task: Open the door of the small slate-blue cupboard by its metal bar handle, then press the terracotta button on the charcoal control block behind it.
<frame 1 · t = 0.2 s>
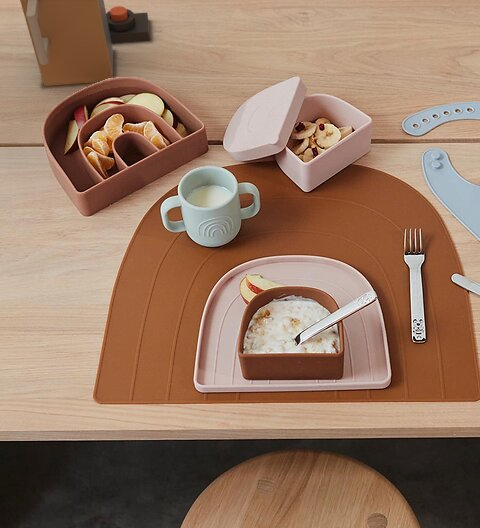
cupboard: (79, 67, 151), on the table
button: (118, 14, 156), point 4 cm above the table, slide at 0.1 cm
cupboard door: (65, 39, 136), point 12 cm above the table, hinge at 0.0°
control block: (122, 33, 159), on the table
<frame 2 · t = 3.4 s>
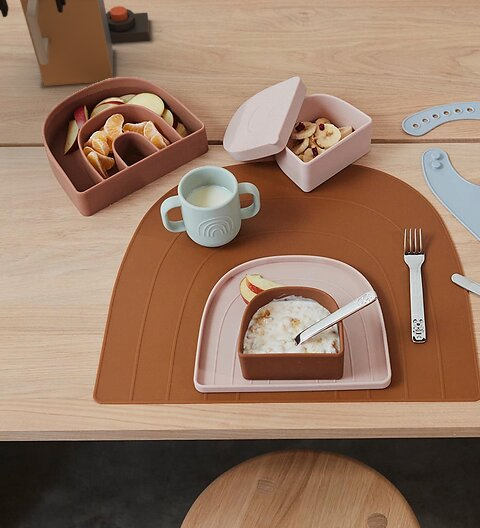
hand: (33, 10, 127), 20 cm above the table, tool pointing down, fingers open, 9 cm apart
nothing on the table moved.
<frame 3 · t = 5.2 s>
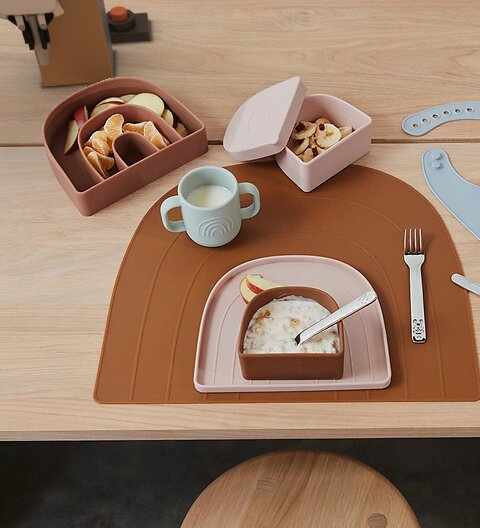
hand: (38, 45, 132), 14 cm above the table, tool pointing down, fingers closed on cupboard door
cupboard door: (66, 39, 136), point 12 cm above the table, hinge at 0.9°, touching gripper
everything else where it was.
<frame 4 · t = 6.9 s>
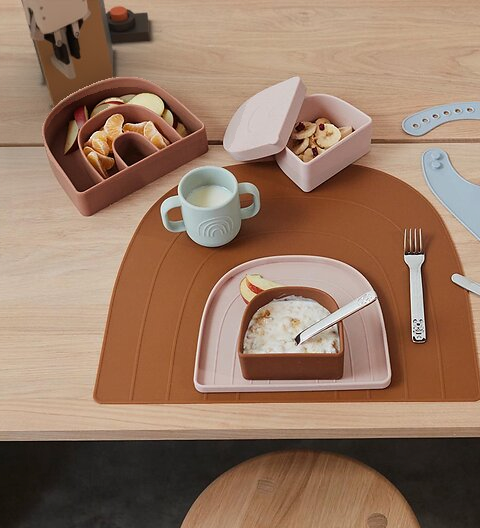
hand: (68, 58, 130), 14 cm above the table, tool pointing down, fingers closed on cupboard door
cupboard door: (81, 48, 134), point 12 cm above the table, hinge at 32.8°, touching gripper
everything else where it was.
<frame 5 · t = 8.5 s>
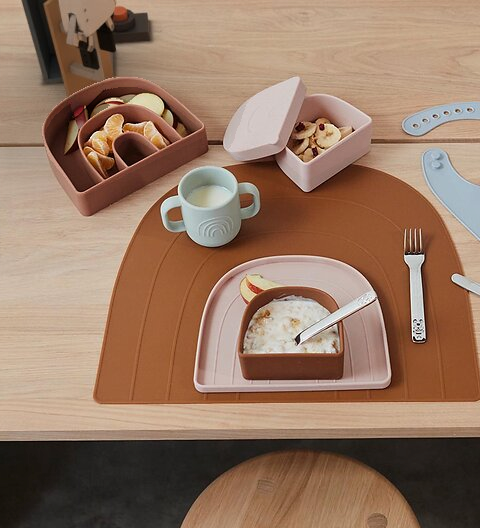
hand: (99, 58, 129), 14 cm above the table, tool pointing down, fingers open, 5 cm apart
cupboard door: (97, 50, 134), point 12 cm above the table, hinge at 57.0°
everything else where it was.
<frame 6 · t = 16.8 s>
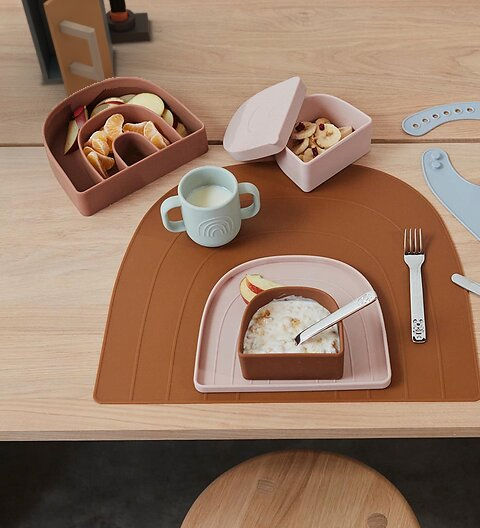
hand: (118, 10, 155), 5 cm above the table, tool pointing down, fingers closed
button: (118, 14, 156), point 4 cm above the table, slide at 0.1 cm, touching gripper
everything else where it was.
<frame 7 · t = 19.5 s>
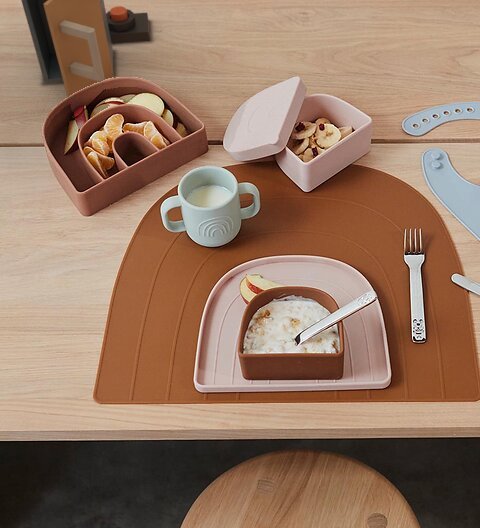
button: (118, 14, 156), point 4 cm above the table, slide at 0.1 cm
everything else where it was.
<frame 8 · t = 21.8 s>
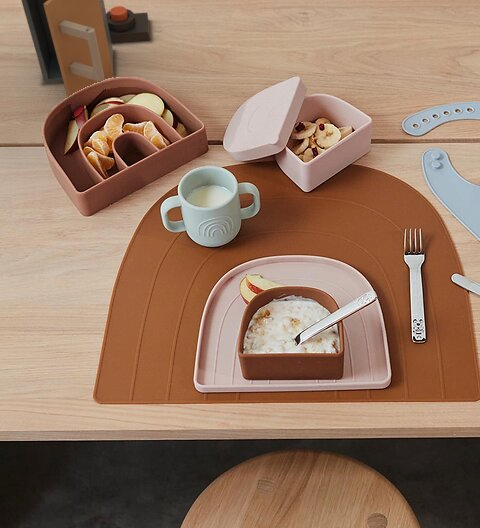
nothing on the table moved.
at the end: cupboard door at +57° (first picture: +0°); button pushed in 1.1 cm at the most during the clip, back to where it started at the end; button slide at 0.1 cm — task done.
